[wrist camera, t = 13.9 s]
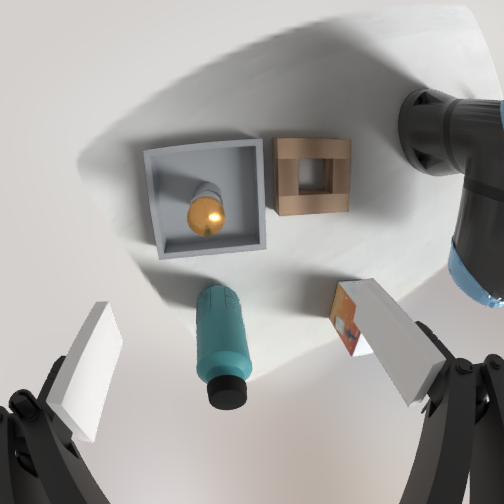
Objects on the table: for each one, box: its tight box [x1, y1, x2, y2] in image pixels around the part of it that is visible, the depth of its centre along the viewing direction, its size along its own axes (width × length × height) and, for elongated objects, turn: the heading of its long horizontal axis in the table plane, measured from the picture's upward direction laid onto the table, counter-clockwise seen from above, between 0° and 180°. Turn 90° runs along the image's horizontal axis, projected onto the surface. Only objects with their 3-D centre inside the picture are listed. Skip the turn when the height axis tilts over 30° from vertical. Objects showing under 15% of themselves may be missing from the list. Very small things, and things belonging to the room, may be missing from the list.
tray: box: [143, 139, 266, 260], centre depth 34 cm, size 14×14×4 cm
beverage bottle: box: [196, 285, 252, 410], centre depth 33 cm, size 6×7×20 cm
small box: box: [329, 280, 374, 357], centre depth 42 cm, size 8×6×10 cm
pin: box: [187, 182, 225, 236], centre depth 30 cm, size 4×4×10 cm
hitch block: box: [272, 138, 351, 216], centre depth 35 cm, size 10×10×3 cm
